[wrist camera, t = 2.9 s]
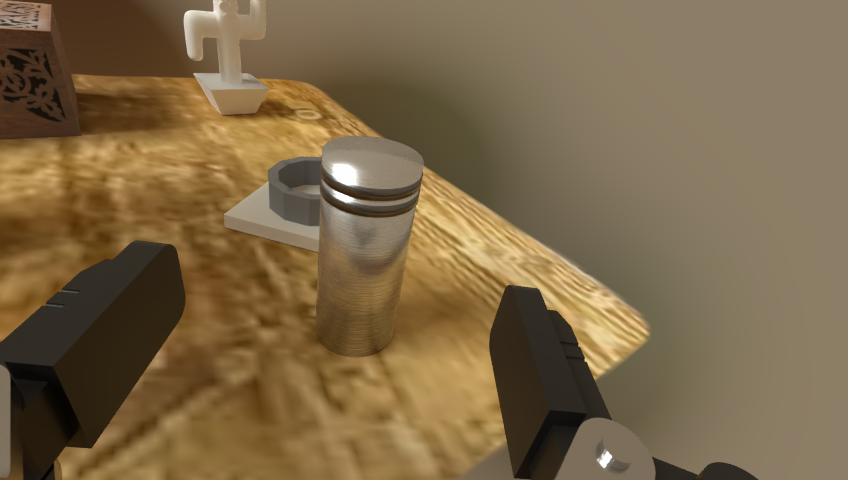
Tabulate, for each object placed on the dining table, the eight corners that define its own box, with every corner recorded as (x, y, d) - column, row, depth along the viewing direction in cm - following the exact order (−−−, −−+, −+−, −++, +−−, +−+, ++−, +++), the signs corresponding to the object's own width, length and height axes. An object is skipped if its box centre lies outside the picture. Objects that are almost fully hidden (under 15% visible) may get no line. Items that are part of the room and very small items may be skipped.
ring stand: (224, 227, 34) (220, 186, 32) (289, 176, 43) (289, 141, 41) (353, 261, 33) (357, 222, 31) (391, 201, 42) (396, 168, 40)
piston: (300, 344, 25) (302, 160, 19) (333, 292, 29) (344, 128, 23) (381, 367, 25) (411, 187, 18) (402, 311, 29) (433, 149, 23)
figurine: (187, 101, 56) (169, -30, 48) (258, 99, 61) (252, -19, 53) (203, 120, 51) (186, -21, 43) (278, 115, 57) (275, -10, 49)
